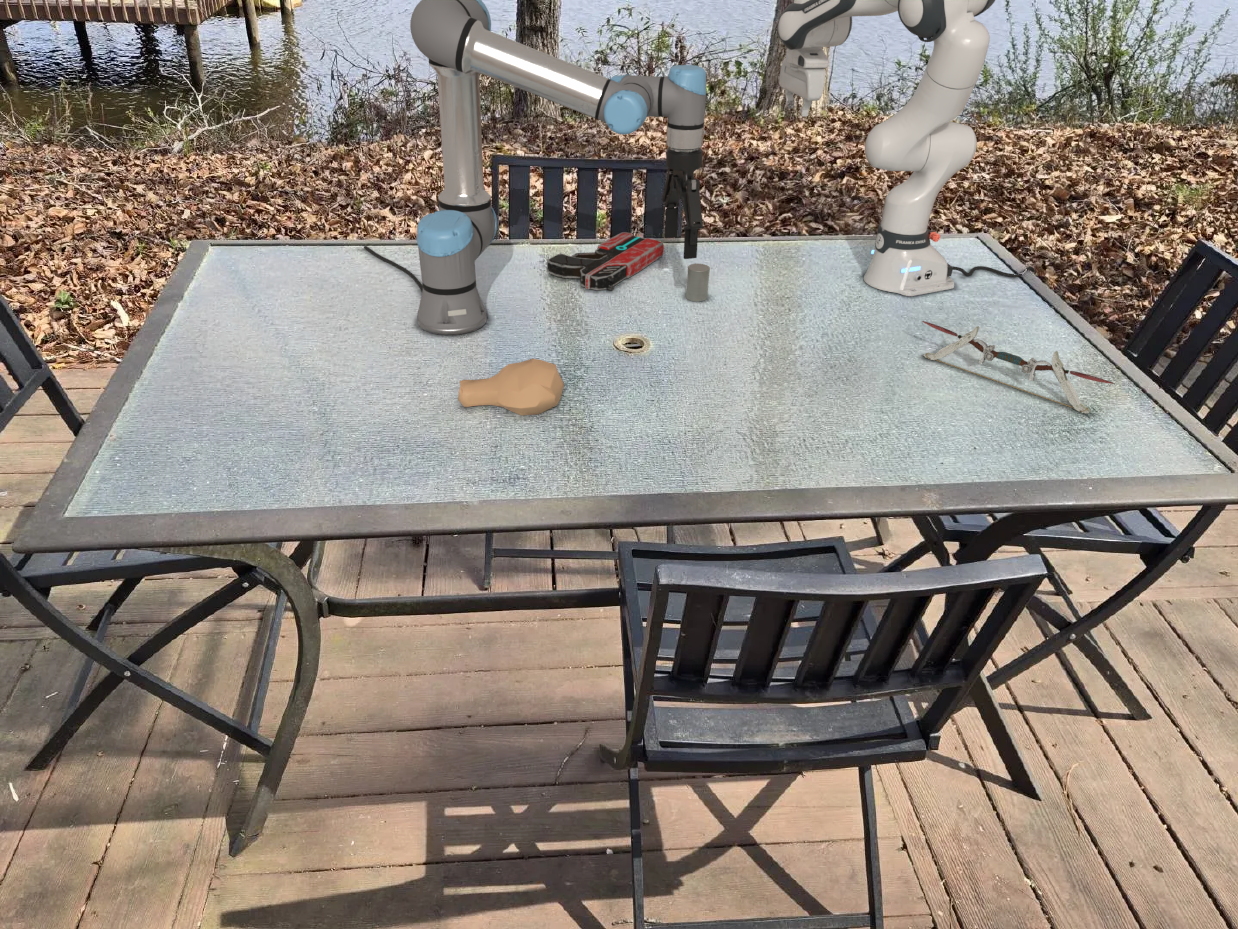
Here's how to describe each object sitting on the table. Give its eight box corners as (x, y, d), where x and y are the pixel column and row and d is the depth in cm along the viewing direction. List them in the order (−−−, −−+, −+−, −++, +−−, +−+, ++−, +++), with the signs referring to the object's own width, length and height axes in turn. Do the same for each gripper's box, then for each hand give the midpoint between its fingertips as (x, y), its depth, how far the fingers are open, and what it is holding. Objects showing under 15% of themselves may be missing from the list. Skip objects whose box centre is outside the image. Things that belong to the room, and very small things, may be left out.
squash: (565, 421, 162) (558, 383, 156) (459, 429, 164) (448, 392, 158) (568, 385, 170) (561, 347, 164) (467, 393, 172) (456, 356, 165)
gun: (540, 260, 217) (606, 279, 209) (606, 224, 239) (668, 240, 231) (540, 277, 220) (606, 296, 212) (605, 240, 242) (667, 256, 234)
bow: (1102, 416, 168) (1120, 369, 163) (1099, 419, 167) (1116, 372, 162) (916, 351, 190) (927, 308, 184) (912, 354, 189) (923, 311, 183)
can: (683, 299, 211) (685, 269, 206) (688, 291, 215) (690, 262, 211) (704, 302, 209) (707, 272, 205) (709, 294, 213) (712, 265, 209)
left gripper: (722, 162, 172) (715, 265, 184) (682, 132, 192) (678, 227, 204) (686, 164, 170) (681, 268, 182) (650, 134, 190) (647, 230, 202)
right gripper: (777, 48, 233) (770, 103, 241) (808, 62, 217) (800, 120, 225) (799, 48, 235) (792, 103, 243) (832, 61, 218) (823, 120, 226)
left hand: (680, 247), depth 193 cm, fingers open, 13 cm apart
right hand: (796, 111), depth 233 cm, fingers open, 8 cm apart
